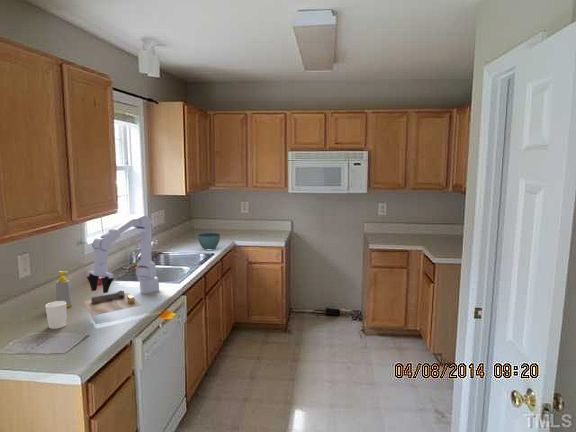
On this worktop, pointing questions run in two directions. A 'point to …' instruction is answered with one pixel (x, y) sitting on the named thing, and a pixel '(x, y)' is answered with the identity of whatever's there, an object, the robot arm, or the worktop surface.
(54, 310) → the white cup
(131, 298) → the light wood small block
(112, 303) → the latch board
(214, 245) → the plant pot
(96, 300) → the swing bar
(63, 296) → the soap bottle
